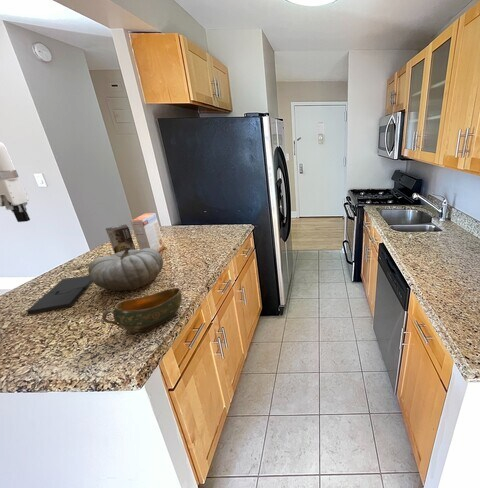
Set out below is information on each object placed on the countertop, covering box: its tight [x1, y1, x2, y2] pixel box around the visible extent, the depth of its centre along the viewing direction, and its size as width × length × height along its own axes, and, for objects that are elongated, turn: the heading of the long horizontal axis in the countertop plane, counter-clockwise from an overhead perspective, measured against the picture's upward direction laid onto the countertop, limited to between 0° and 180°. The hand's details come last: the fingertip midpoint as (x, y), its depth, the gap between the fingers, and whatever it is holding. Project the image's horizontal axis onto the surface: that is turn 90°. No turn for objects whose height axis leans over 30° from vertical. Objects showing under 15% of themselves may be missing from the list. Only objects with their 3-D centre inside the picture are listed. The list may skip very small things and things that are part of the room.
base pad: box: [26, 288, 85, 315], centre depth 100 cm, size 12×12×2 cm
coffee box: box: [105, 224, 137, 254], centre depth 136 cm, size 9×6×16 cm
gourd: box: [87, 247, 164, 291], centre depth 109 cm, size 25×25×17 cm
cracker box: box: [130, 212, 166, 253], centre depth 139 cm, size 14×6×21 cm, turn 6°
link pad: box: [47, 274, 93, 295], centre depth 109 cm, size 12×14×2 cm
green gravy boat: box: [101, 287, 182, 334], centre depth 87 cm, size 13×20×10 cm, turn 111°
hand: (24, 221), depth 107 cm, fingers closed
